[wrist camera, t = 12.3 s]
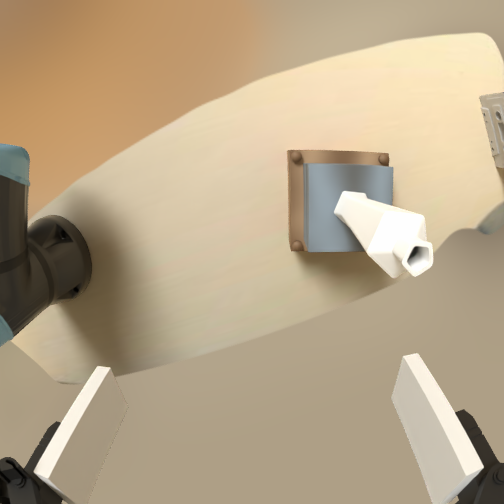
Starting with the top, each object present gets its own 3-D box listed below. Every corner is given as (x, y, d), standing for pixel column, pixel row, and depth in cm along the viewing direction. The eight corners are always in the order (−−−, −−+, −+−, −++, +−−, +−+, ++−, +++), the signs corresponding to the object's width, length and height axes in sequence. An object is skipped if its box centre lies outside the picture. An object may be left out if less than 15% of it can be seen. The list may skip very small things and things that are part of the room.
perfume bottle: (328, 229, 30) (375, 296, 16) (332, 186, 28) (389, 219, 14) (370, 232, 30) (440, 297, 15) (375, 191, 28) (456, 227, 14)
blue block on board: (288, 239, 41) (293, 266, 31) (287, 150, 37) (292, 149, 28) (372, 238, 40) (398, 263, 30) (375, 153, 36) (405, 154, 27)
